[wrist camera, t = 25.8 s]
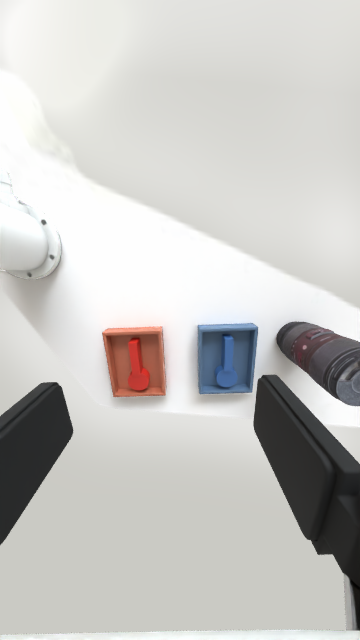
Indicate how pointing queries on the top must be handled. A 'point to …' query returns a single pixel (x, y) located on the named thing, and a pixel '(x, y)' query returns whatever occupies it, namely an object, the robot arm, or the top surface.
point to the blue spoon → (226, 363)
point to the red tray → (121, 362)
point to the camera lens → (324, 358)
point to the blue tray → (213, 351)
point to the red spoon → (137, 367)
